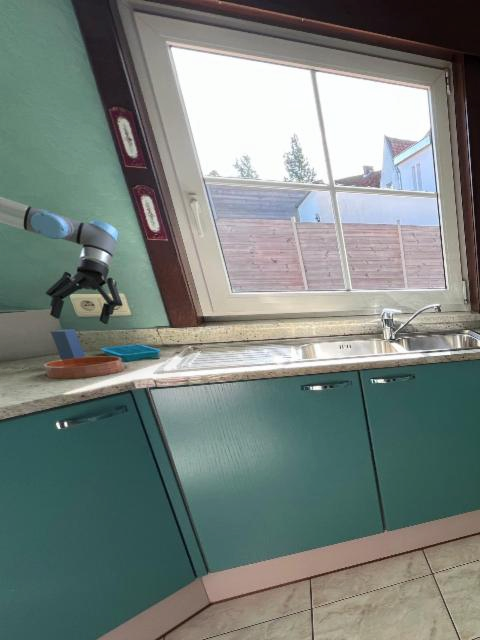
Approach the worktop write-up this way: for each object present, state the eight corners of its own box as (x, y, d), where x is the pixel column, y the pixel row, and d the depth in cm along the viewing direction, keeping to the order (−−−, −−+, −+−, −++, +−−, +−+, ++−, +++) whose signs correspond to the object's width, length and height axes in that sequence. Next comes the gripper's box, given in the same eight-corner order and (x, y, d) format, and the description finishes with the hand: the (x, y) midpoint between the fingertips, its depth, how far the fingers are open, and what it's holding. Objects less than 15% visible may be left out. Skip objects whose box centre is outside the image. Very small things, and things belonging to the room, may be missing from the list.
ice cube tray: (142, 352, 187) (139, 344, 186) (165, 358, 177) (162, 350, 176) (101, 356, 178) (98, 348, 176) (123, 364, 168) (120, 355, 167)
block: (64, 368, 160) (50, 331, 156) (75, 365, 164) (61, 329, 159) (78, 368, 160) (64, 331, 156) (88, 365, 164) (75, 329, 160)
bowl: (41, 383, 143) (36, 369, 142) (56, 371, 156) (51, 359, 155) (120, 376, 152) (116, 363, 151) (129, 366, 165) (125, 354, 164)
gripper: (143, 275, 178) (130, 329, 174) (59, 264, 172) (42, 319, 168) (130, 264, 171) (115, 319, 167) (41, 251, 165) (24, 309, 160)
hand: (79, 319), depth 167 cm, fingers open, 13 cm apart
